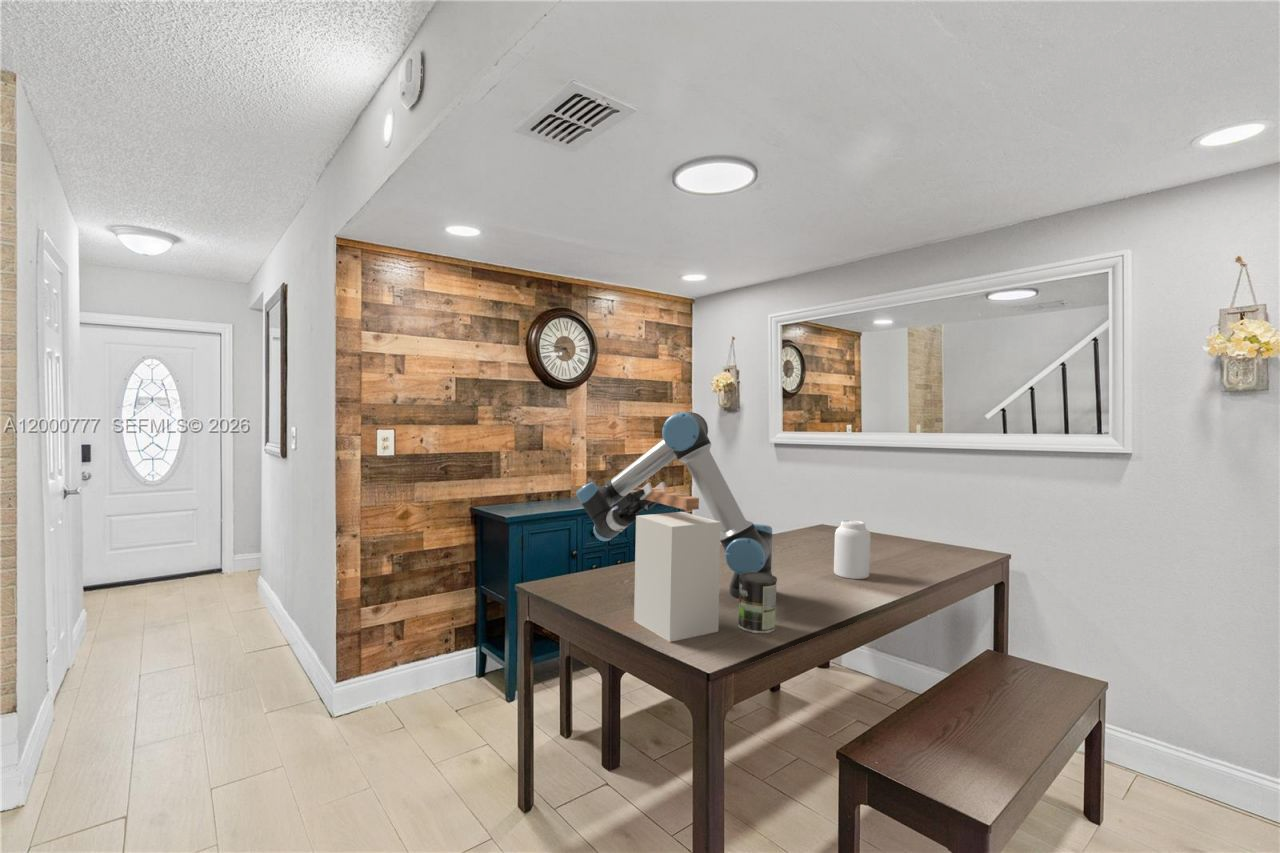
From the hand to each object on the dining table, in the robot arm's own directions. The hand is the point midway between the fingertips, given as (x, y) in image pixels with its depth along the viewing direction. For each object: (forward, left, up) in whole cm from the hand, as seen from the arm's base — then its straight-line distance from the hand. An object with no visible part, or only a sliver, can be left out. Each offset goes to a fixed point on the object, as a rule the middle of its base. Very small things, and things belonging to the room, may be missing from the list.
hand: (657, 486), depth 180 cm
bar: (-3, +3, -4) cm, 6 cm away
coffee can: (-29, +1, -38) cm, 48 cm away
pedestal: (-7, +7, -38) cm, 39 cm away
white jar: (-60, -65, -38) cm, 96 cm away
